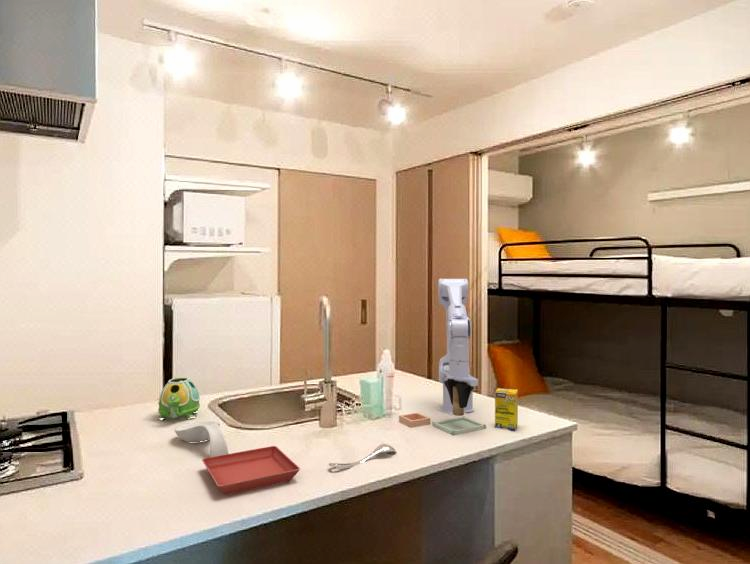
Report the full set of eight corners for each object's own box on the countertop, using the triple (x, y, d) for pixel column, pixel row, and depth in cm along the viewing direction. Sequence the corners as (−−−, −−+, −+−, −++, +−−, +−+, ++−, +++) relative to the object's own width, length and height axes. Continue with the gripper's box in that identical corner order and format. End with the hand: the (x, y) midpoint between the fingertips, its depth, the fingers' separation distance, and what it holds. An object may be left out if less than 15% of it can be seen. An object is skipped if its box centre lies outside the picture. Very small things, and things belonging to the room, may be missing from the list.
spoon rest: (169, 438, 142) (169, 413, 142) (211, 430, 149) (210, 406, 149) (197, 464, 123) (196, 435, 123) (243, 453, 130) (243, 426, 130)
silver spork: (335, 458, 116) (324, 453, 120) (334, 474, 116) (323, 468, 120) (400, 445, 129) (388, 440, 132) (400, 459, 129) (388, 453, 132)
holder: (417, 419, 158) (417, 412, 158) (430, 425, 152) (430, 418, 152) (399, 422, 155) (399, 415, 155) (411, 428, 149) (411, 421, 149)
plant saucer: (201, 471, 119) (201, 457, 119) (275, 457, 128) (275, 444, 128) (218, 502, 104) (218, 486, 103) (301, 483, 112) (301, 468, 112)
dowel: (460, 412, 151) (460, 385, 151) (466, 414, 148) (466, 387, 148) (450, 413, 150) (450, 386, 150) (456, 416, 147) (456, 388, 147)
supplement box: (494, 428, 149) (494, 391, 149) (497, 423, 155) (497, 387, 154) (515, 431, 147) (515, 393, 146) (517, 425, 152) (518, 389, 152)
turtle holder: (149, 428, 150) (148, 388, 150) (164, 411, 168) (163, 375, 168) (192, 426, 152) (192, 386, 152) (203, 409, 170) (202, 374, 170)
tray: (463, 420, 157) (463, 416, 157) (486, 429, 148) (486, 425, 148) (432, 426, 151) (432, 422, 151) (453, 436, 142) (453, 431, 142)
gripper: (433, 357, 153) (433, 402, 154) (464, 365, 141) (464, 413, 141) (451, 355, 157) (451, 399, 157) (483, 362, 144) (483, 410, 144)
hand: (459, 405), depth 149 cm, fingers closed on dowel, 3 cm apart
